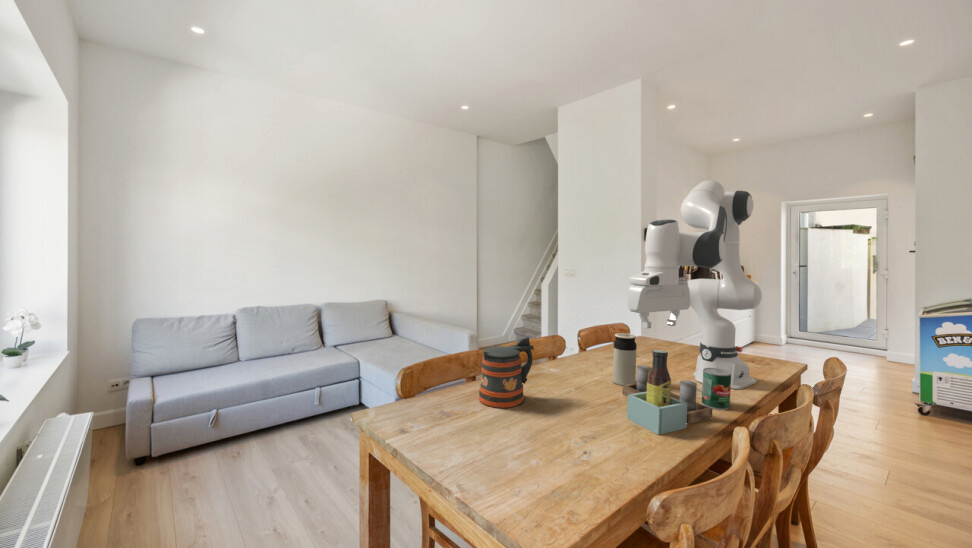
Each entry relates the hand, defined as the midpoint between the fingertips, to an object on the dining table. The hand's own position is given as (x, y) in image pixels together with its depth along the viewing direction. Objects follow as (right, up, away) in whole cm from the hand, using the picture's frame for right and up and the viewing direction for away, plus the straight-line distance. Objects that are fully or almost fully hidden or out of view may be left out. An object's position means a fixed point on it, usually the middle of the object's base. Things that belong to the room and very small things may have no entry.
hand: (659, 326), depth 112 cm
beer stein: (-42, -26, +19) cm, 53 cm away
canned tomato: (+25, -27, +16) cm, 40 cm away
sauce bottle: (0, -27, +2) cm, 27 cm away
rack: (+8, -27, +15) cm, 32 cm away
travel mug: (+3, -26, +37) cm, 45 cm away
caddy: (0, -28, +1) cm, 28 cm away
